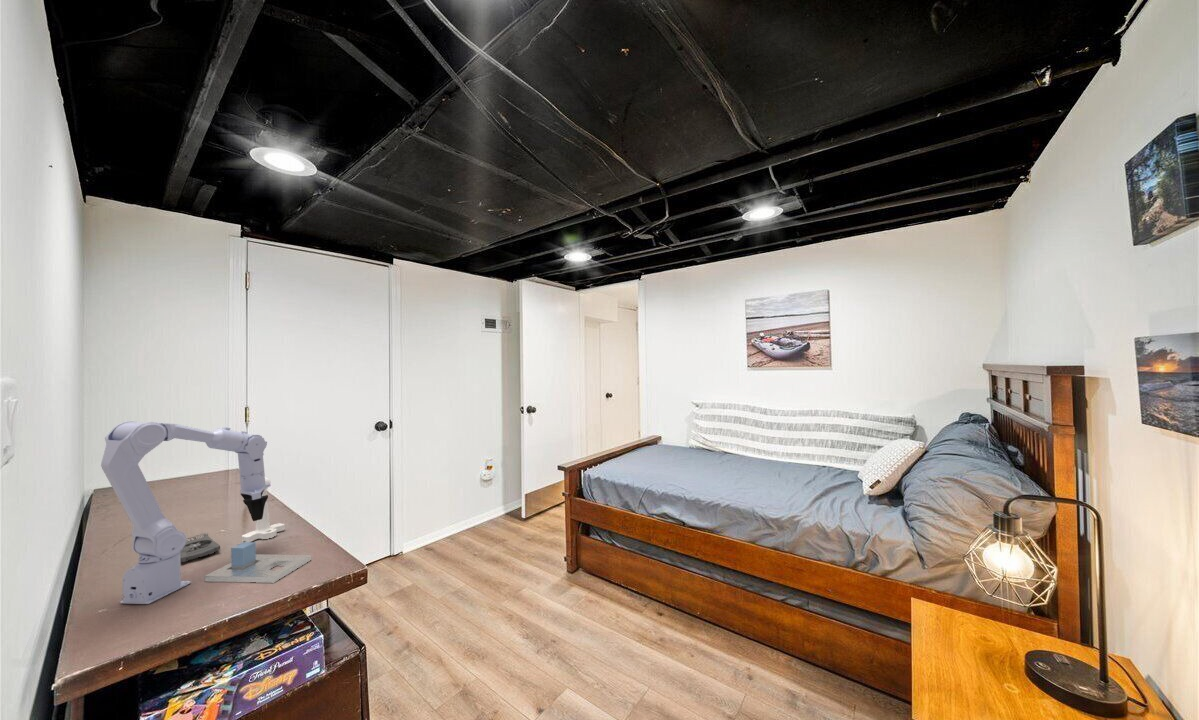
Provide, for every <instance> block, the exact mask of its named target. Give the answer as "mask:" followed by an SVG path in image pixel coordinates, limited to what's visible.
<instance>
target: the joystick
mask: <svg viewBox="0 0 1199 720" xmlns="http://www.w3.org/2000/svg"><path fill="white" fill-rule="evenodd" d="M267 483H270V484H271V479H270V478H268V477H266V476H265V484H267ZM268 488H269V487H266V488H265V489H264V491H263V494H262V496H265V495H268V493H267V492H268V491H267V490H268ZM268 503H269V502H268V500H267V501H266V503H265V506H264V512H263V517H262V519H261V520H257V521H255V530H252V531H249V532H247V533H245V534H242V535H241V543H243V542H253V541H256V540H259V539H261V540H263V539H268V538H272V537H274V536H275V537H276V536H278V535H277V533H278V532H279V533H280V532H283V531H285V528H286V526H285V523H280V522H278V523H275V524H271V523H270V515H269V504H268ZM270 524H271V525H270ZM275 537H274V538H275ZM272 539H273V538H272ZM268 540H269V539H268Z"/></svg>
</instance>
